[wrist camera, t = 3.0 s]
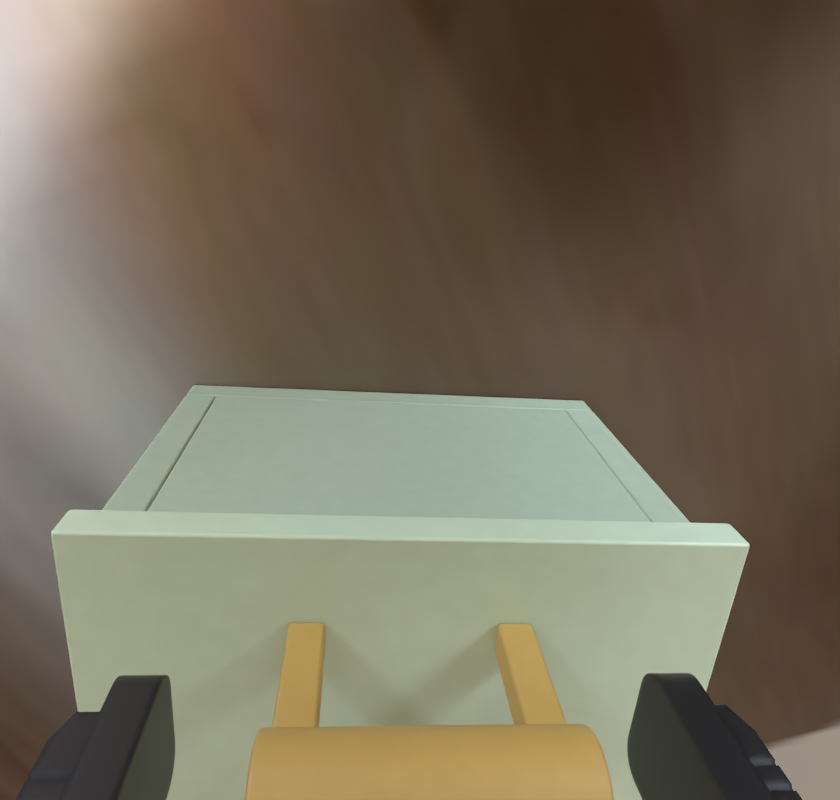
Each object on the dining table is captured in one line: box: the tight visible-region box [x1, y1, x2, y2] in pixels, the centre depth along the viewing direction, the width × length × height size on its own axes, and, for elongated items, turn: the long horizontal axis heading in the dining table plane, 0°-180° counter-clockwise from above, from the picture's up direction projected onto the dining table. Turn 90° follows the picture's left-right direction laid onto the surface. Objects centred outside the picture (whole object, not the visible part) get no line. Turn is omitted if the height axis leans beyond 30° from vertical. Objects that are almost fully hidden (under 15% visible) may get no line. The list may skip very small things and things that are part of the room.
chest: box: [102, 385, 690, 523], centre depth 19 cm, size 15×13×9 cm
